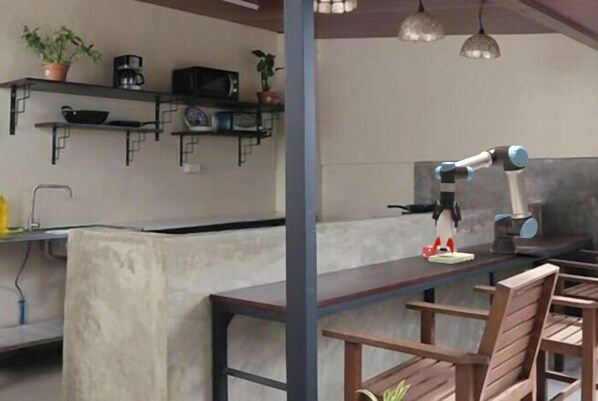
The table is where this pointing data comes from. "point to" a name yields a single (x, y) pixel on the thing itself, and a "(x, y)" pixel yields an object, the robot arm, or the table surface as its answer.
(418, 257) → the table surface
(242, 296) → the table surface
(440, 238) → the rocket
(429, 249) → the red die
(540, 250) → the table surface
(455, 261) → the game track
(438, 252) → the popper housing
